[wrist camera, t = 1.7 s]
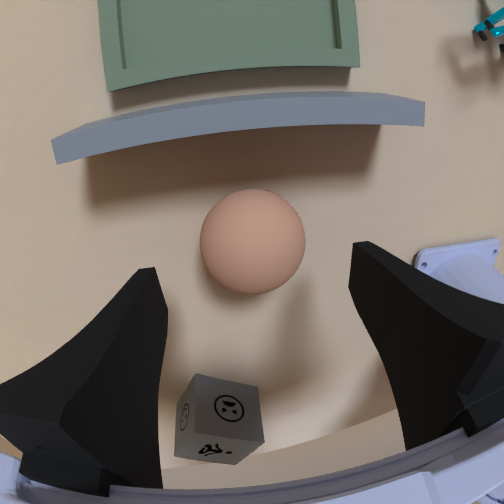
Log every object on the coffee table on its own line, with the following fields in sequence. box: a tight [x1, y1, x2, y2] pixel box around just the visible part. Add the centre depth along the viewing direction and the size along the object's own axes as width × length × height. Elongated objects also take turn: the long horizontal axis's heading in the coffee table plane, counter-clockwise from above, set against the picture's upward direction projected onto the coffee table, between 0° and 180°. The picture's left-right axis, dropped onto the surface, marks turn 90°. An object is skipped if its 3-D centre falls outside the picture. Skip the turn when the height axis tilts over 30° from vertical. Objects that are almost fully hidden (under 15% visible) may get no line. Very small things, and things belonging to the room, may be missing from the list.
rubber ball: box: [200, 189, 305, 294], centre depth 14 cm, size 4×4×4 cm
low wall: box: [51, 91, 425, 165], centre depth 11 cm, size 1×14×4 cm, turn 95°
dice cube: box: [174, 374, 265, 465], centre depth 21 cm, size 5×5×5 cm
